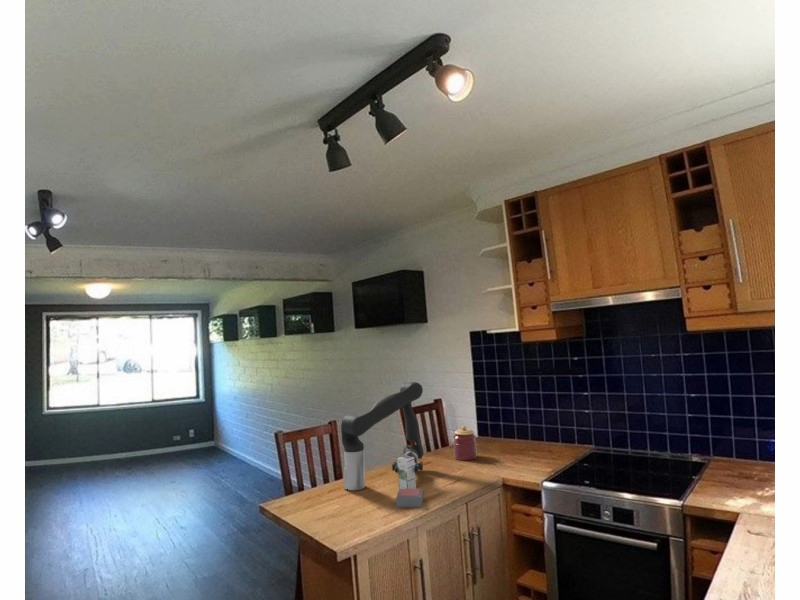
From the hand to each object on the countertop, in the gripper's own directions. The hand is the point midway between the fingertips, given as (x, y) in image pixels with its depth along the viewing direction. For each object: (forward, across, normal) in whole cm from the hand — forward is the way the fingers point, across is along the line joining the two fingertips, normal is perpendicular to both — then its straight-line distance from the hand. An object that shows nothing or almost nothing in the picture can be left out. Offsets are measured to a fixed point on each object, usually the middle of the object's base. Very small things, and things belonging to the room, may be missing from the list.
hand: (406, 470), depth 207 cm
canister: (-55, +27, +9) cm, 62 cm away
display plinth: (+14, +3, +9) cm, 17 cm away
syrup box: (-2, 0, +9) cm, 9 cm away
